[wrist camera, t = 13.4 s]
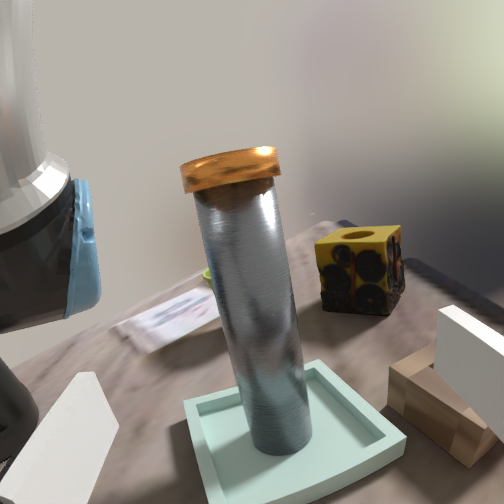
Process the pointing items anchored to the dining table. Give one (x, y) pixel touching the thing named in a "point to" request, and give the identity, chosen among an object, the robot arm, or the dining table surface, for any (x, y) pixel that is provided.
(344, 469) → the tray
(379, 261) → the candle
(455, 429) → the socket collar
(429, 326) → the dining table surface
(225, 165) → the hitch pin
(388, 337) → the dining table surface
